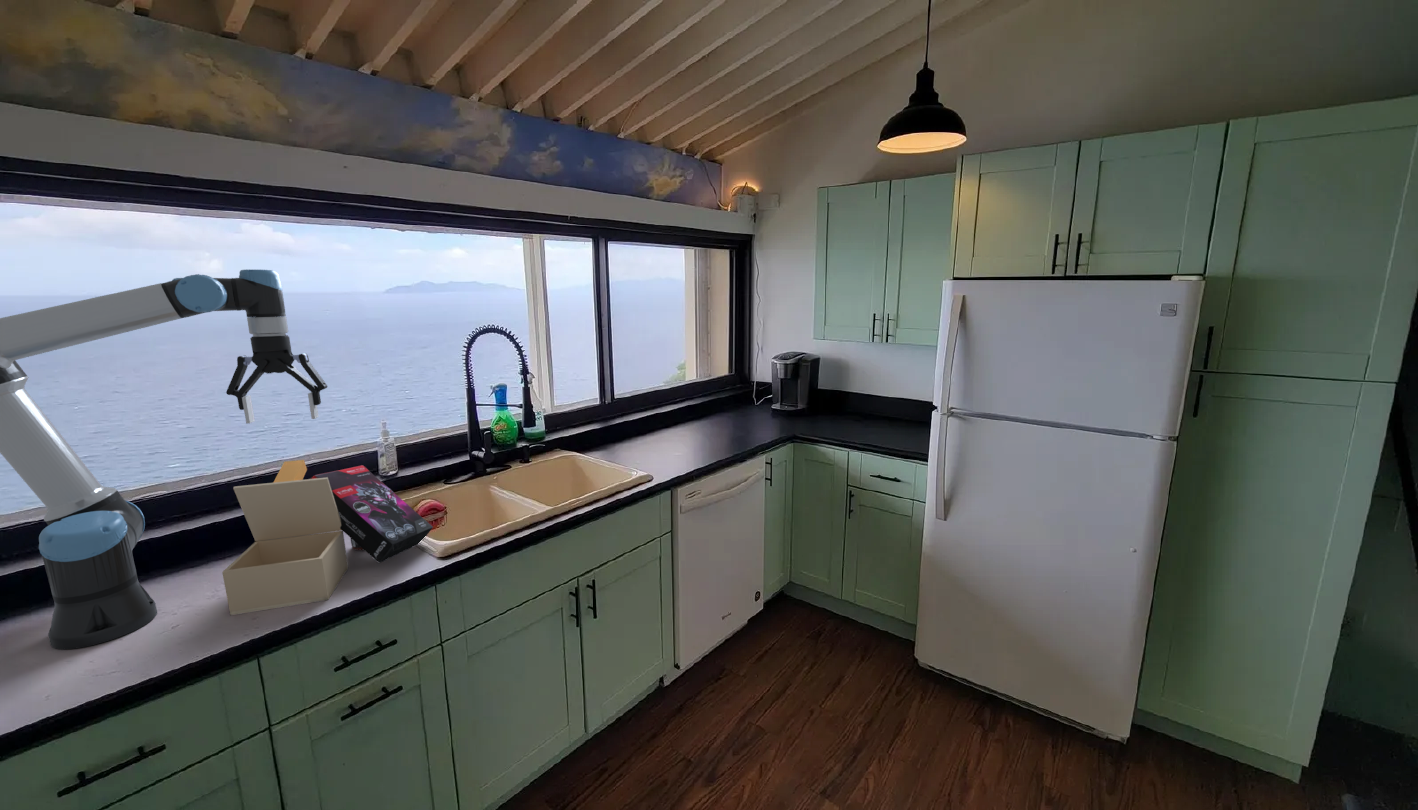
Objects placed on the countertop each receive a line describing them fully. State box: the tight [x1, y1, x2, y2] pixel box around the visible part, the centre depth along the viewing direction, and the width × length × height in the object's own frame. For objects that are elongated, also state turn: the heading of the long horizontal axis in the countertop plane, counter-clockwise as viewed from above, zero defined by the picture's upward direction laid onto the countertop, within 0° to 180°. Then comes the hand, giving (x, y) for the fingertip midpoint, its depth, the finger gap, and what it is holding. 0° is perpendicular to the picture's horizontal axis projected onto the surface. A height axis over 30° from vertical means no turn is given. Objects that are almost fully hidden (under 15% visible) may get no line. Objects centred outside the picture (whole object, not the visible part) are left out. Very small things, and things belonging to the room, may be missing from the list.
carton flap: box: [233, 459, 342, 542], centre depth 135 cm, size 18×16×10 cm
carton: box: [221, 530, 349, 616], centre depth 128 cm, size 18×16×10 cm
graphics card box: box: [309, 464, 433, 564], centre depth 145 cm, size 17×7×27 cm
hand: (283, 420), depth 139 cm, fingers open, 13 cm apart
